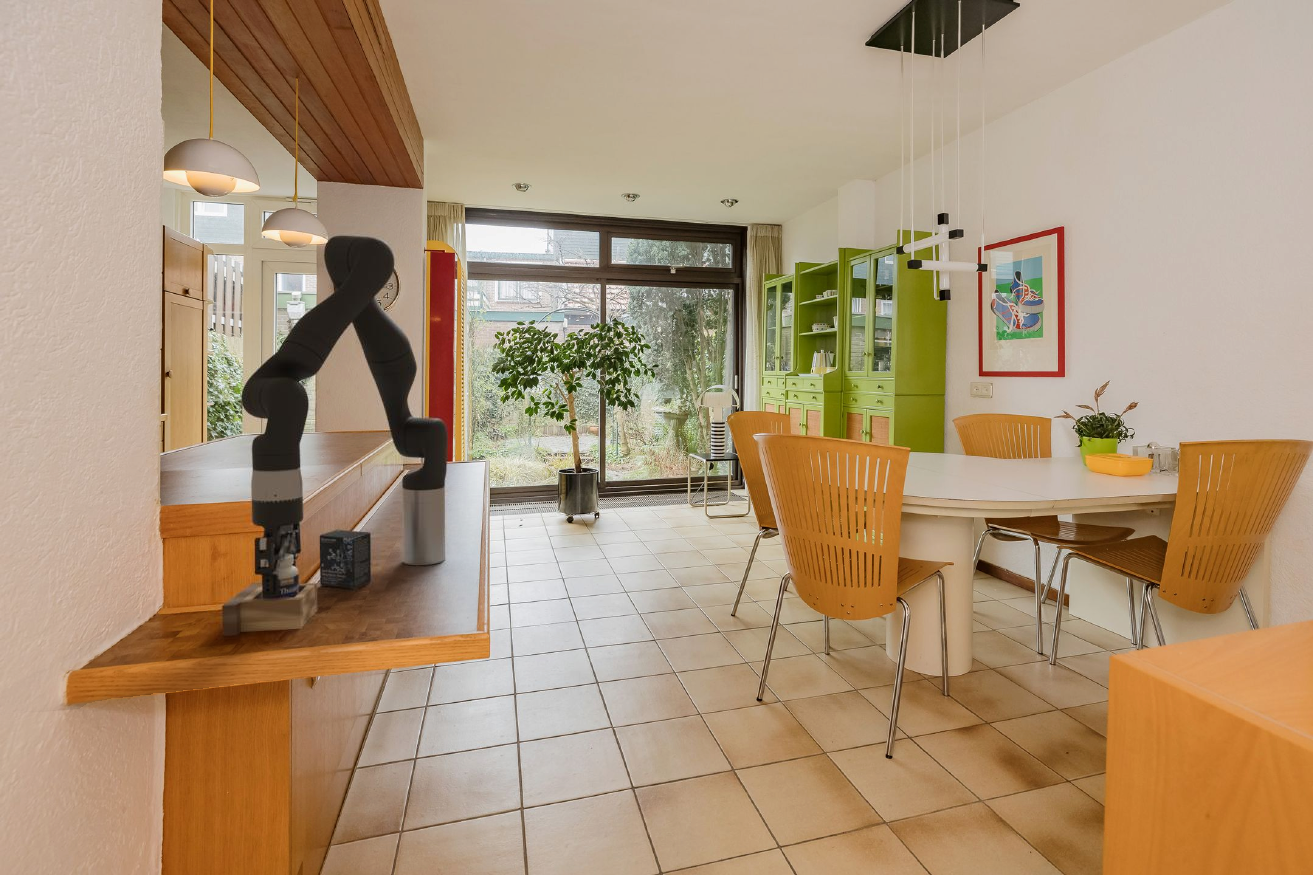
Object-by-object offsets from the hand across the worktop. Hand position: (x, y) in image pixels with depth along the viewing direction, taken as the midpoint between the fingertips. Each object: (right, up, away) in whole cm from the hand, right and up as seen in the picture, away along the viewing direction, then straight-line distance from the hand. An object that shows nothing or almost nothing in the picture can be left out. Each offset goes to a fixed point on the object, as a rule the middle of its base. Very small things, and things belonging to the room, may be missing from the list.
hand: (280, 588), depth 111 cm
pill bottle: (0, -4, 0) cm, 4 cm away
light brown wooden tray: (0, -6, 0) cm, 6 cm away
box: (+1, -4, +21) cm, 22 cm away
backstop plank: (-5, -6, -1) cm, 8 cm away
